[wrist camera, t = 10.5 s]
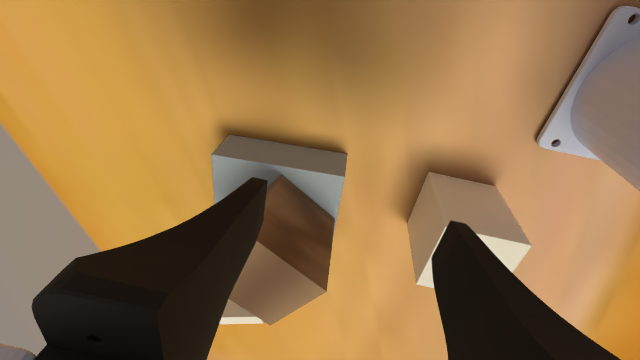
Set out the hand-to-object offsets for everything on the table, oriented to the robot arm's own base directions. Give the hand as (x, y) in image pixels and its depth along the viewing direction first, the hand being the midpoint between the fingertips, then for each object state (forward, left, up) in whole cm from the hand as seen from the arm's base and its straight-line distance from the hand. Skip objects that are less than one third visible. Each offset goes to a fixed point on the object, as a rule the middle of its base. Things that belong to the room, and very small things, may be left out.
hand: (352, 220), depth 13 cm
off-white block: (-8, +5, -10) cm, 14 cm away
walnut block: (+3, +7, -7) cm, 10 cm away
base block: (+4, +7, -11) cm, 14 cm away
